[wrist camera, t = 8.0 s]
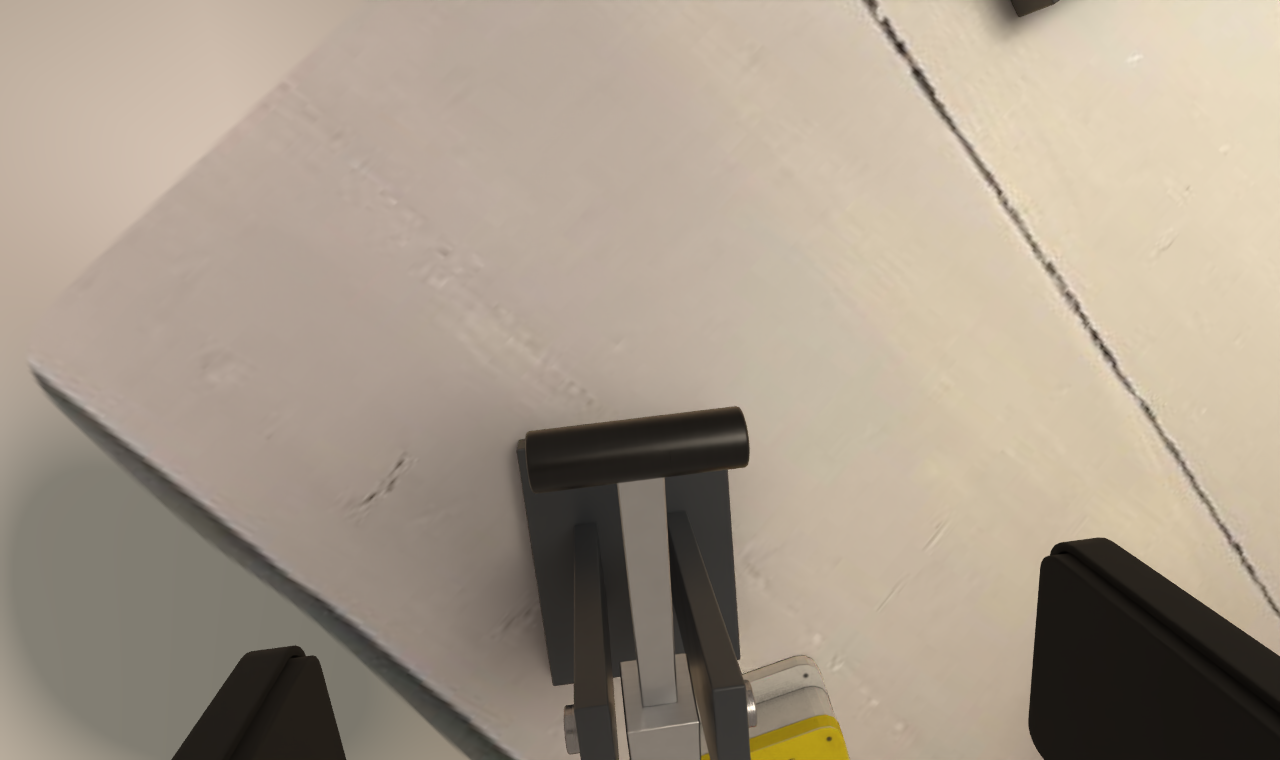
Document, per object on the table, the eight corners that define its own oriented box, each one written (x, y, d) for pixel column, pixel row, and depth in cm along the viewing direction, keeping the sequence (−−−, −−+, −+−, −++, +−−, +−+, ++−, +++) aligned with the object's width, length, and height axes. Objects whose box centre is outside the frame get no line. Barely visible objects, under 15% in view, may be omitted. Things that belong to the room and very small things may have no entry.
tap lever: (526, 407, 17) (523, 473, 15) (731, 382, 17) (756, 444, 15) (585, 717, 24) (588, 788, 22) (728, 695, 24) (745, 765, 22)
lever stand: (518, 439, 31) (481, 603, 19) (718, 414, 32) (810, 558, 19) (553, 669, 34) (541, 936, 22) (735, 643, 35) (821, 890, 23)
